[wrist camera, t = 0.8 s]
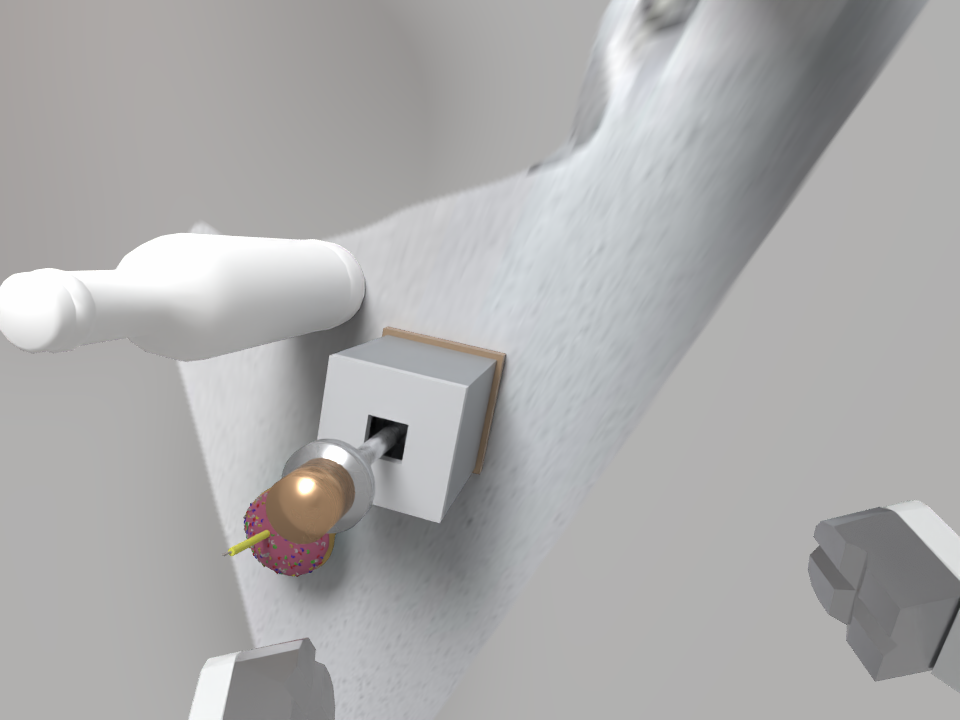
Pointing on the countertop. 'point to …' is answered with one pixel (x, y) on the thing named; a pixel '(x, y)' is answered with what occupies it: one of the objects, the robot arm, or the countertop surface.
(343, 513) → the plunger
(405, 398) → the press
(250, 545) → the cupcake
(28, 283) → the bottle
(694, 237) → the countertop surface
